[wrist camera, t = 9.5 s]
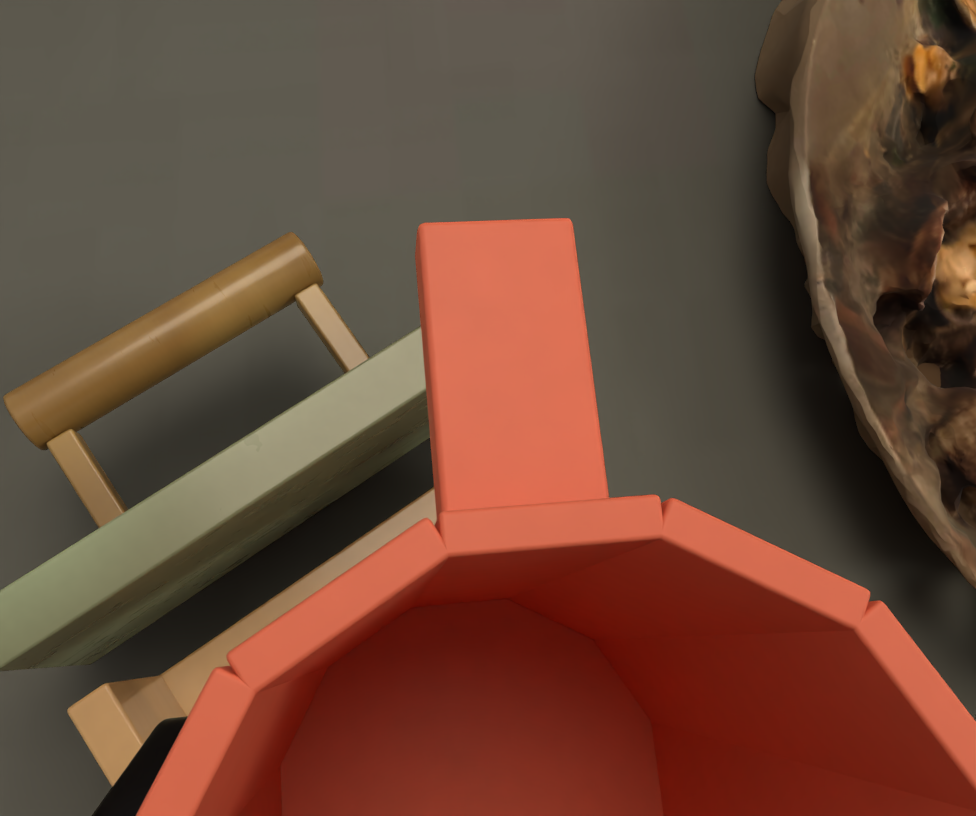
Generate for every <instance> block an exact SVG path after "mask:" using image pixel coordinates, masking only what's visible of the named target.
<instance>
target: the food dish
mask: <svg viewBox="0 0 976 816" xmlns="http://www.w3.org/2000/svg"><path fill="white" fill-rule="evenodd" d="M755 81H756V90H757V94H758V98H759V99H760V100H761V101H762V102H763V103H764V104H765V105H767V106H768V107H769V108H770V109H771V110H773V111H774V112H775V113H776V130H775V132H774V135H773V138H772V140H771V143H770V146H769V148H768V152H767V160H768V162H767V172H766V173H767V184H768V187H769V189H770V191H771V194H772V196H773V197H774V199H775V200H776V202H777V204H778V205H779V207H780V209H781V211H782V213H783V214H784V215H785V216H786V217H787V218H788V220H789V221H790V222H791V224H792V226H793V228H794V230H795V235H796V242H797V244H798V246H799V249H800V251H801V253H802V255H803V256H804V257H805V263H806V266H807V273H808V278H807V280H806V282H805V284H804V286H805V288H806V290H807V291H808V293H809V295H810V297H811V302H812V322H811V328H812V329H813V331H814V332H815V333H816V335H817V336H818V337H820V338H822V339H824V340H825V341H826V344H827V347H828V350H829V352H830V354H831V357H832V363H833V364H834V365H835V366H836V368H837V371H838V373H839V375H840V378H841V380H842V382H843V385H844V387H845V389H846V392H847V394H848V396H849V399H850V401H851V404H852V406H853V411H854V416H855V421H856V424H857V428H858V431H859V434H860V435H861V437H862V438H863V440H864V441H865V443H866V444H867V446H868V447H869V449H870V450H872V451H873V452H874V453H875V454H876V455H877V456H878V457H879V458H880V459H882V461H883V462H884V464H885V466H886V468H887V470H888V472H889V474H890V476H891V478H892V480H893V482H894V484H895V485H896V487H897V489H898V491H899V493H900V494H901V496H902V498H903V499H904V501H905V503H906V504H907V506H908V508H909V509H910V511H911V513H912V514H913V516H914V517H915V519H916V520H917V521H918V523H919V524H920V525H921V527H922V528H923V530H924V531H925V532H926V534H927V535H928V536H929V538H930V539H931V540H932V541H933V542H934V543H935V544H936V545H937V546H938V547H939V549H940V550H941V551H942V552H943V553H944V554H945V555H946V556H947V557H948V558H949V559H950V561H951V562H952V563H953V564H954V565H955V566H956V568H957V569H958V570H959V571H960V573H961V574H962V575H963V576H964V578H965V579H966V580H967V581H968V582H969V583H970V584H971V585H972V586H973V587H974V588H975V589H976V0H782V1H781V2H780V4H779V5H778V7H777V8H776V9H775V12H774V14H773V16H772V18H771V21H770V25H769V28H768V31H767V34H766V37H765V40H764V43H763V46H762V49H761V52H760V56H759V60H758V64H757V69H756V73H755Z"/></svg>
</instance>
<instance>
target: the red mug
mask: <svg viewBox="0 0 976 816" xmlns="http://www.w3.org/2000/svg"><path fill="white" fill-rule="evenodd" d="M415 259H416V272H417V284H418V296H419V308H420V320H421V333H422V345H423V357H424V369H425V381H426V393H427V406H428V418H429V430H430V442H431V454H432V467H433V479H434V491H435V503H436V515H437V521H436V523H435V525H434V524H433V523H432V521H431V520H430V519H428V518H423V519H421V520H420V521H418V522H417V523H416V524H414V525H413V526H411V527H410V528H408V529H407V530H405V531H404V532H402V533H401V534H400V535H398V536H397V537H395V538H394V539H392V540H391V541H389V542H388V543H386V544H385V545H383V546H382V547H381V548H379V549H378V550H376V551H375V552H373V553H372V554H370V555H369V556H367V557H366V558H365V559H363V560H362V561H360V562H359V563H357V564H356V565H354V566H353V567H351V568H350V569H349V570H347V571H346V572H344V573H343V574H341V575H340V576H338V577H337V578H335V579H334V580H332V581H331V582H330V583H328V584H327V585H325V586H324V587H322V588H321V589H319V590H318V591H316V592H315V593H314V594H312V595H311V596H309V597H308V598H306V599H305V600H303V601H302V602H300V603H299V604H298V605H296V606H295V607H293V608H292V609H290V610H289V611H287V612H286V613H284V614H283V615H281V616H280V617H279V618H277V619H276V620H274V621H273V622H271V623H270V624H268V625H267V626H265V627H264V628H263V629H261V630H260V631H258V632H257V633H255V634H254V635H252V636H251V637H249V638H248V639H247V640H245V641H244V642H242V643H241V644H239V645H238V646H236V647H235V648H233V649H232V650H230V651H229V652H228V654H227V655H226V657H227V661H228V663H229V664H230V666H223V667H216V668H215V669H213V670H212V672H211V674H210V675H209V677H208V679H207V681H206V683H205V685H204V687H203V689H202V691H201V693H200V694H199V696H198V698H197V700H196V702H195V704H194V706H193V708H192V710H191V712H190V713H189V715H188V717H187V719H186V721H185V723H184V725H183V727H182V729H181V731H180V732H179V734H178V736H177V738H176V740H175V742H174V744H173V746H172V748H171V750H170V751H169V753H168V755H167V757H166V759H165V761H164V763H163V765H162V767H161V769H160V770H159V772H158V774H157V776H156V778H155V780H154V782H153V784H152V786H151V788H150V789H149V791H148V793H147V795H146V797H145V799H144V801H143V803H142V805H141V807H140V808H139V810H138V812H137V814H136V816H976V721H975V720H974V719H973V717H972V716H971V715H970V714H969V712H968V711H967V710H966V708H965V707H964V706H963V704H962V703H961V702H960V701H959V699H958V698H957V697H956V695H955V694H954V693H953V692H952V690H951V689H950V688H949V686H948V685H947V684H946V682H945V681H944V680H943V679H942V677H941V676H940V675H939V673H938V672H937V671H936V669H935V668H934V667H933V666H932V664H931V663H930V662H929V660H928V659H927V658H926V657H925V655H924V654H923V653H922V651H921V650H920V649H919V647H918V646H917V645H916V644H915V642H914V641H913V640H912V638H911V637H910V636H909V635H908V633H907V632H906V631H905V629H904V628H903V627H902V625H901V624H900V623H899V622H898V620H897V619H896V618H895V616H894V615H893V614H892V612H891V611H890V610H889V609H888V607H887V606H886V605H885V604H884V603H883V602H882V601H870V602H869V598H870V591H868V590H867V589H866V588H864V587H862V586H859V585H857V584H855V583H853V582H851V581H849V580H847V579H845V578H843V577H840V576H838V575H836V574H834V573H832V572H830V571H828V570H826V569H823V568H821V567H819V566H817V565H815V564H813V563H811V562H809V561H807V560H804V559H802V558H800V557H798V556H796V555H794V554H792V553H790V552H787V551H785V550H783V549H781V548H779V547H777V546H775V545H773V544H771V543H768V542H766V541H764V540H762V539H760V538H758V537H756V536H754V535H751V534H749V533H747V532H745V531H743V530H741V529H739V528H737V527H735V526H732V525H730V524H728V523H726V522H724V521H722V520H720V519H718V518H715V517H713V516H711V515H709V514H707V513H705V512H703V511H701V510H699V509H696V508H694V507H692V506H690V505H688V504H686V503H684V502H682V501H679V500H677V499H675V498H670V499H668V500H666V501H664V502H662V503H661V501H660V498H659V496H657V495H654V494H653V495H641V496H628V497H616V498H609V493H608V486H607V478H606V471H605V463H604V456H603V448H602V441H601V433H600V425H599V418H598V410H597V403H596V395H595V388H594V380H593V373H592V365H591V358H590V350H589V343H588V335H587V327H586V320H585V312H584V305H583V297H582V290H581V282H580V275H579V267H578V260H577V252H576V245H575V237H574V229H573V224H572V222H571V220H570V219H568V218H554V219H525V220H496V221H466V222H437V223H423V224H420V225H419V227H418V230H417V240H416V252H415Z"/></svg>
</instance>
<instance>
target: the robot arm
mask: <svg viewBox="0 0 976 816" xmlns="http://www.w3.org/2000/svg"><path fill="white" fill-rule="evenodd" d="M187 717H188V716H186V717H177V718H168V719H164V720H163V721H161V722H160V723H159V724H158V725H157V726H156V727H155V728H154V730H153V731H152V733H151V734H150V735H149V737H148V738H147V739H146V741H145V742H144V744H143V745H142V746H141V748H140V749H139V751H138V752H137V753H136V755H135V756H134V758H133V759H132V760H131V762H130V763H129V765H128V766H127V767H126V769H125V770H124V771H123V773H122V774H121V776H120V777H119V778H118V780H117V781H116V783H115V784H114V785H113V787H112V788H111V790H110V791H109V792H108V794H107V795H106V797H105V798H104V799H103V801H102V802H101V803H100V805H99V806H98V808H97V809H96V810H95V812H94V813H93V815H92V816H136V814H137V812H138V810H139V808H140V807H141V805H142V803H143V801H144V799H145V797H146V795H147V793H148V791H149V789H150V788H151V786H152V784H153V782H154V780H155V778H156V776H157V774H158V772H159V770H160V769H161V767H162V765H163V763H164V761H165V759H166V757H167V755H168V753H169V751H170V750H171V748H172V746H173V744H174V742H175V740H176V738H177V736H178V734H179V732H180V731H181V729H182V727H183V725H184V723H185V721H186V719H187Z"/></svg>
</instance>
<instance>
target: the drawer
mask: <svg viewBox="0 0 976 816" xmlns="http://www.w3.org/2000/svg"><path fill="white" fill-rule="evenodd" d="M322 285H323V278H322V275H321V272H320V270H319V268H318V266H317V264H316V262H315V261H314V259H313V257H312V255H311V254H310V252H309V251H308V249H307V248H306V246H305V245H304V244H303V242H302V241H301V240H300V239H299V237H298V236H297V235H295V234H294V233H293V232H288V233H287V234H285V235H283V236H281V237H280V238H278V239H276V240H274V241H273V242H271V243H269V244H267V245H266V246H264V247H262V248H260V249H259V250H257V251H255V252H254V253H252V254H250V255H248V256H247V257H245V258H243V259H241V260H240V261H238V262H236V263H234V264H233V265H231V266H229V267H227V268H226V269H224V270H222V271H220V272H219V273H217V274H215V275H213V276H212V277H210V278H208V279H206V280H205V281H203V282H201V283H199V284H198V285H196V286H194V287H192V288H191V289H189V290H187V291H185V292H184V293H182V294H180V295H178V296H177V297H175V298H173V299H171V300H170V301H168V302H166V303H164V304H163V305H161V306H159V307H157V308H156V309H154V310H152V311H150V312H149V313H147V314H145V315H143V316H142V317H140V318H138V319H136V320H135V321H133V322H131V323H129V324H128V325H126V326H124V327H122V328H121V329H119V330H117V331H115V332H114V333H112V334H110V335H108V336H107V337H105V338H103V339H101V340H100V341H98V342H96V343H94V344H93V345H91V346H89V347H88V348H86V349H84V350H82V351H81V352H79V353H77V354H75V355H74V356H72V357H70V358H68V359H67V360H65V361H63V362H61V363H60V364H58V365H56V366H54V367H53V368H51V369H49V370H47V371H46V372H44V373H42V374H40V375H39V376H37V377H35V378H33V379H32V380H30V381H28V382H26V383H25V384H23V385H21V386H19V387H18V388H16V389H14V390H12V391H11V392H9V393H7V394H6V395H5V396H4V397H3V399H4V403H5V406H6V408H7V410H8V412H9V414H10V415H11V417H12V418H13V420H14V421H15V423H16V424H17V426H18V427H19V428H20V430H21V431H22V432H23V433H24V435H25V436H26V437H27V438H28V439H29V440H30V441H31V442H32V443H33V444H34V445H35V446H36V447H38V448H39V449H41V450H47V449H49V450H50V451H51V453H52V455H53V456H54V458H55V459H56V461H57V463H58V464H59V466H60V467H61V469H62V470H63V472H64V474H65V475H66V477H67V478H68V480H69V482H70V483H71V485H72V486H73V488H74V489H75V491H76V493H77V494H78V496H79V497H80V499H81V501H82V502H83V504H84V505H85V507H86V508H87V510H88V512H89V513H90V515H91V516H92V518H93V520H94V521H95V523H96V524H97V526H98V527H99V529H97V530H95V531H94V532H92V533H91V534H89V535H88V536H86V537H84V538H83V539H81V540H80V541H78V542H76V543H75V544H73V545H72V546H70V547H68V548H67V549H65V550H64V551H62V552H61V553H59V554H57V555H56V556H54V557H53V558H51V559H49V560H48V561H46V562H45V563H43V564H41V565H40V566H38V567H37V568H35V569H33V570H32V571H30V572H29V573H27V574H26V575H24V576H22V577H21V578H19V579H18V580H16V581H14V582H13V583H11V584H10V585H8V586H6V587H5V588H3V589H2V590H0V671H8V670H21V669H35V668H48V667H61V666H75V665H88V664H92V663H93V662H95V661H96V660H98V659H99V658H101V657H102V656H104V655H105V654H107V653H108V652H110V651H111V650H113V649H114V648H116V647H117V646H119V645H120V644H122V643H123V642H125V641H126V640H128V639H129V638H131V637H132V636H134V635H135V634H137V633H138V632H140V631H141V630H143V629H144V628H146V627H147V626H149V625H150V624H152V623H153V622H155V621H156V620H158V619H159V618H161V617H162V616H164V615H165V614H167V613H168V612H170V611H171V610H173V609H174V608H176V607H177V606H179V605H180V604H182V603H183V602H185V601H186V600H188V599H189V598H191V597H192V596H194V595H195V594H197V593H198V592H200V591H201V590H203V589H204V588H205V587H207V586H208V585H210V584H211V583H213V582H214V581H216V580H217V579H219V578H220V577H222V576H223V575H225V574H226V573H228V572H229V571H231V570H232V569H234V568H235V567H237V566H238V565H240V564H241V563H243V562H244V561H246V560H247V559H249V558H250V557H252V556H253V555H255V554H256V553H258V552H259V551H261V550H262V549H264V548H265V547H267V546H268V545H270V544H271V543H273V542H274V541H276V540H277V539H279V538H280V537H282V536H283V535H285V534H286V533H288V532H289V531H291V530H292V529H294V528H295V527H297V526H298V525H300V524H301V523H303V522H304V521H306V520H307V519H309V518H310V517H312V516H313V515H315V514H316V513H318V512H319V511H321V510H322V509H324V508H325V507H327V506H328V505H330V504H331V503H333V502H334V501H335V500H337V499H338V498H340V497H341V496H343V495H344V494H346V493H347V492H349V491H350V490H352V489H353V488H355V487H356V486H358V485H359V484H361V483H362V482H364V481H365V480H367V479H368V478H370V477H371V476H373V475H374V474H376V473H377V472H379V471H380V470H382V469H383V468H385V467H386V466H388V465H389V464H391V463H392V462H394V461H395V460H397V459H398V458H400V457H401V456H403V455H404V454H406V453H407V452H409V451H410V450H412V449H413V448H415V447H416V446H418V445H419V444H421V443H422V442H424V441H425V440H427V439H428V438H430V430H429V418H428V406H427V393H426V381H425V369H424V357H423V345H422V333H421V326H420V327H418V328H416V329H415V330H413V331H412V332H410V333H408V334H407V335H405V336H404V337H402V338H400V339H399V340H397V341H396V342H394V343H393V344H391V345H389V346H388V347H386V348H385V349H383V350H381V351H380V352H378V353H377V354H375V355H373V356H372V357H369V356H368V354H367V353H366V351H365V350H364V349H363V347H362V346H361V344H360V343H359V342H358V340H357V339H356V337H355V336H354V335H353V333H352V332H351V330H350V329H349V328H348V326H347V325H346V323H345V322H344V320H343V319H342V318H341V316H340V315H339V313H338V312H337V311H336V309H335V308H334V306H333V305H332V304H331V302H330V301H329V299H328V298H327V297H326V295H325V294H324V292H323V291H322V289H321V288H320V287H321V286H322ZM295 301H296V303H297V306H298V308H299V309H300V310H301V312H302V313H303V315H304V316H305V318H306V319H307V320H308V322H309V323H310V325H311V326H312V328H313V329H314V330H315V332H316V333H317V335H318V336H319V338H320V339H321V340H322V342H323V343H324V345H325V346H326V347H327V349H328V350H329V352H330V353H331V355H332V356H333V357H334V359H335V360H336V362H337V363H338V365H339V366H340V367H341V369H342V370H343V372H344V373H345V374H343V375H342V376H340V377H339V378H337V379H335V380H334V381H332V382H331V383H329V384H327V385H326V386H324V387H323V388H321V389H319V390H318V391H316V392H315V393H313V394H312V395H310V396H308V397H307V398H305V399H304V400H302V401H300V402H299V403H297V404H296V405H294V406H292V407H291V408H289V409H288V410H286V411H285V412H283V413H281V414H280V415H278V416H277V417H275V418H273V419H272V420H270V421H269V422H267V423H265V424H264V425H262V426H261V427H259V428H258V429H256V430H254V431H253V432H251V433H250V434H248V435H246V436H245V437H243V438H242V439H240V440H238V441H237V442H235V443H234V444H232V445H231V446H229V447H227V448H226V449H224V450H223V451H221V452H219V453H218V454H216V455H215V456H213V457H211V458H210V459H208V460H207V461H205V462H203V463H202V464H200V465H199V466H197V467H196V468H194V469H192V470H191V471H189V472H188V473H186V474H184V475H183V476H181V477H180V478H178V479H176V480H175V481H173V482H172V483H170V484H169V485H167V486H165V487H164V488H162V489H161V490H159V491H157V492H156V493H154V494H153V495H151V496H149V497H148V498H146V499H145V500H143V501H142V502H140V503H138V504H137V505H135V506H134V507H132V508H130V509H129V510H128V508H127V507H126V505H125V503H124V502H123V500H122V499H121V497H120V496H119V494H118V493H117V491H116V489H115V488H114V486H113V485H112V483H111V482H110V480H109V478H108V477H107V475H106V474H105V472H104V471H103V469H102V468H101V466H100V464H99V463H98V461H97V460H96V458H95V457H94V455H93V453H92V452H91V450H90V449H89V447H88V446H87V444H86V443H85V441H84V439H83V438H82V436H81V435H80V434H78V433H77V431H79V430H81V429H82V428H84V427H86V426H87V425H89V424H91V423H92V422H94V421H96V420H97V419H99V418H101V417H102V416H104V415H106V414H107V413H109V412H111V411H112V410H114V409H116V408H117V407H119V406H121V405H123V404H124V403H126V402H128V401H129V400H131V399H133V398H134V397H136V396H138V395H139V394H141V393H143V392H144V391H146V390H148V389H149V388H151V387H153V386H154V385H156V384H158V383H159V382H161V381H163V380H164V379H166V378H168V377H170V376H171V375H173V374H175V373H176V372H178V371H180V370H181V369H183V368H185V367H186V366H188V365H190V364H191V363H193V362H195V361H196V360H198V359H200V358H201V357H203V356H205V355H206V354H208V353H210V352H211V351H213V350H215V349H216V348H218V347H220V346H222V345H223V344H225V343H227V342H228V341H230V340H232V339H233V338H235V337H237V336H238V335H240V334H242V333H243V332H245V331H247V330H248V329H250V328H252V327H253V326H255V325H257V324H258V323H260V322H262V321H263V320H265V319H267V318H269V317H270V316H272V315H274V314H275V313H277V312H279V311H280V310H282V309H284V308H285V307H287V306H289V305H290V304H292V303H294V302H295ZM423 518H428V519H430V520H431V521H432V523H433V524H434V525H435V523H436V521H437V515H436V503H435V491H434V487H433V488H431V489H430V490H428V491H427V492H425V493H424V494H423V495H421V496H420V497H418V498H417V499H415V500H414V501H412V502H411V503H409V504H408V505H407V506H405V507H404V508H402V509H401V510H399V511H398V512H396V513H395V514H393V515H392V516H390V517H389V518H388V519H386V520H385V521H383V522H382V523H380V524H379V525H377V526H376V527H374V528H373V529H372V530H370V531H369V532H367V533H366V534H364V535H363V536H361V537H360V538H358V539H357V540H356V541H354V542H353V543H351V544H350V545H348V546H347V547H345V548H344V549H342V550H341V551H340V552H338V553H337V554H335V555H334V556H332V557H331V558H329V559H328V560H326V561H325V562H324V563H322V564H321V565H319V566H318V567H316V568H315V569H313V570H312V571H310V572H309V573H308V574H306V575H305V576H303V577H302V578H300V579H299V580H297V581H296V582H294V583H293V584H291V585H290V586H289V587H287V588H286V589H284V590H283V591H281V592H280V593H278V594H277V595H275V596H274V597H273V598H271V599H270V600H268V601H267V602H265V603H264V604H262V605H261V606H259V607H258V608H257V609H255V610H254V611H252V612H251V613H249V614H248V615H246V616H245V617H243V618H242V619H241V620H239V621H238V622H236V623H235V624H233V625H232V626H230V627H229V628H227V629H226V630H225V631H223V632H222V633H220V634H219V635H217V636H216V637H214V638H213V639H211V640H210V641H209V642H207V643H206V644H204V645H203V646H201V647H200V648H198V649H197V650H195V651H194V652H192V653H191V654H190V655H188V656H187V657H185V658H184V659H182V660H181V661H179V662H178V663H176V664H175V665H174V666H172V667H171V668H169V669H168V670H166V671H165V672H163V673H162V674H160V675H159V676H152V677H145V678H138V679H132V680H125V681H118V682H111V683H105V684H103V685H101V686H100V687H98V688H97V689H95V690H94V691H92V692H91V693H89V694H88V695H86V696H85V697H84V698H82V699H81V700H79V701H78V702H76V703H75V704H73V705H72V706H70V707H69V708H68V710H67V711H68V714H69V716H70V718H71V719H72V721H73V723H74V724H75V726H76V728H77V729H78V731H79V733H80V734H81V736H82V738H83V739H84V741H85V743H86V744H87V746H88V748H89V749H90V751H91V752H92V754H93V756H94V757H95V759H96V761H97V762H98V764H99V766H100V767H101V769H102V771H103V772H104V774H105V776H106V777H107V779H108V781H109V782H110V784H111V786H112V787H113V785H114V784H115V783H116V781H117V780H118V778H119V777H120V776H121V774H122V773H123V771H124V770H125V769H126V767H127V766H128V765H129V763H130V762H131V760H132V759H133V758H134V756H135V755H136V753H137V752H138V751H139V749H140V748H141V746H142V745H143V744H144V742H145V741H146V739H147V738H148V737H149V735H150V734H151V733H152V731H153V730H154V728H155V727H156V726H157V725H158V724H159V723H160V722H161V721H163V720H164V719H168V718H177V717H186V716H188V715H189V713H190V712H191V710H192V708H193V706H194V704H195V702H196V700H197V698H198V696H199V694H200V693H201V691H202V689H203V687H204V685H205V683H206V681H207V679H208V677H209V675H210V674H211V672H212V670H213V669H215V668H216V667H223V666H230V664H229V663H228V661H227V657H226V655H227V654H228V652H229V651H230V650H232V649H233V648H235V647H236V646H238V645H239V644H241V643H242V642H244V641H245V640H247V639H248V638H249V637H251V636H252V635H254V634H255V633H257V632H258V631H260V630H261V629H263V628H264V627H265V626H267V625H268V624H270V623H271V622H273V621H274V620H276V619H277V618H279V617H280V616H281V615H283V614H284V613H286V612H287V611H289V610H290V609H292V608H293V607H295V606H296V605H298V604H299V603H300V602H302V601H303V600H305V599H306V598H308V597H309V596H311V595H312V594H314V593H315V592H316V591H318V590H319V589H321V588H322V587H324V586H325V585H327V584H328V583H330V582H331V581H332V580H334V579H335V578H337V577H338V576H340V575H341V574H343V573H344V572H346V571H347V570H349V569H350V568H351V567H353V566H354V565H356V564H357V563H359V562H360V561H362V560H363V559H365V558H366V557H367V556H369V555H370V554H372V553H373V552H375V551H376V550H378V549H379V548H381V547H382V546H383V545H385V544H386V543H388V542H389V541H391V540H392V539H394V538H395V537H397V536H398V535H400V534H401V533H402V532H404V531H405V530H407V529H408V528H410V527H411V526H413V525H414V524H416V523H417V522H418V521H420V520H421V519H423Z"/></svg>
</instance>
